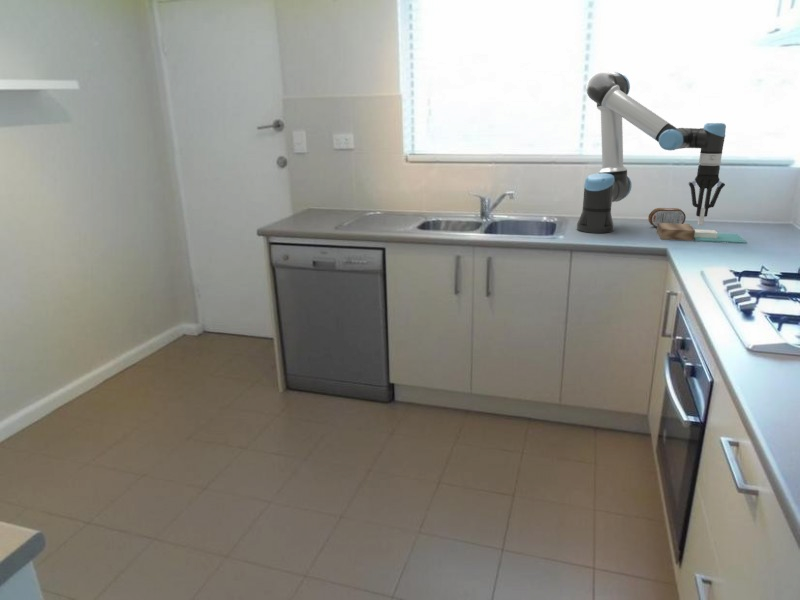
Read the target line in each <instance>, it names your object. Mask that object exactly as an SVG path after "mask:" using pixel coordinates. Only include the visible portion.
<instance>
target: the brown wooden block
mask: <svg viewBox="0 0 800 600" xmlns="http://www.w3.org/2000/svg"><path fill="white" fill-rule="evenodd" d="M694 229H695V228H693V226H692V225H691V224H690V223H683V224H676V223H658V226H657V227H656V234H657V235H658V237H659V239H660V238H661V239H660V240H669V239H672V240H673V239H674V240H675V241H690V240H694V234H695V230H694ZM672 240H671V241H672ZM674 240H673V241H674ZM694 241H695V240H694Z"/></svg>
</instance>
